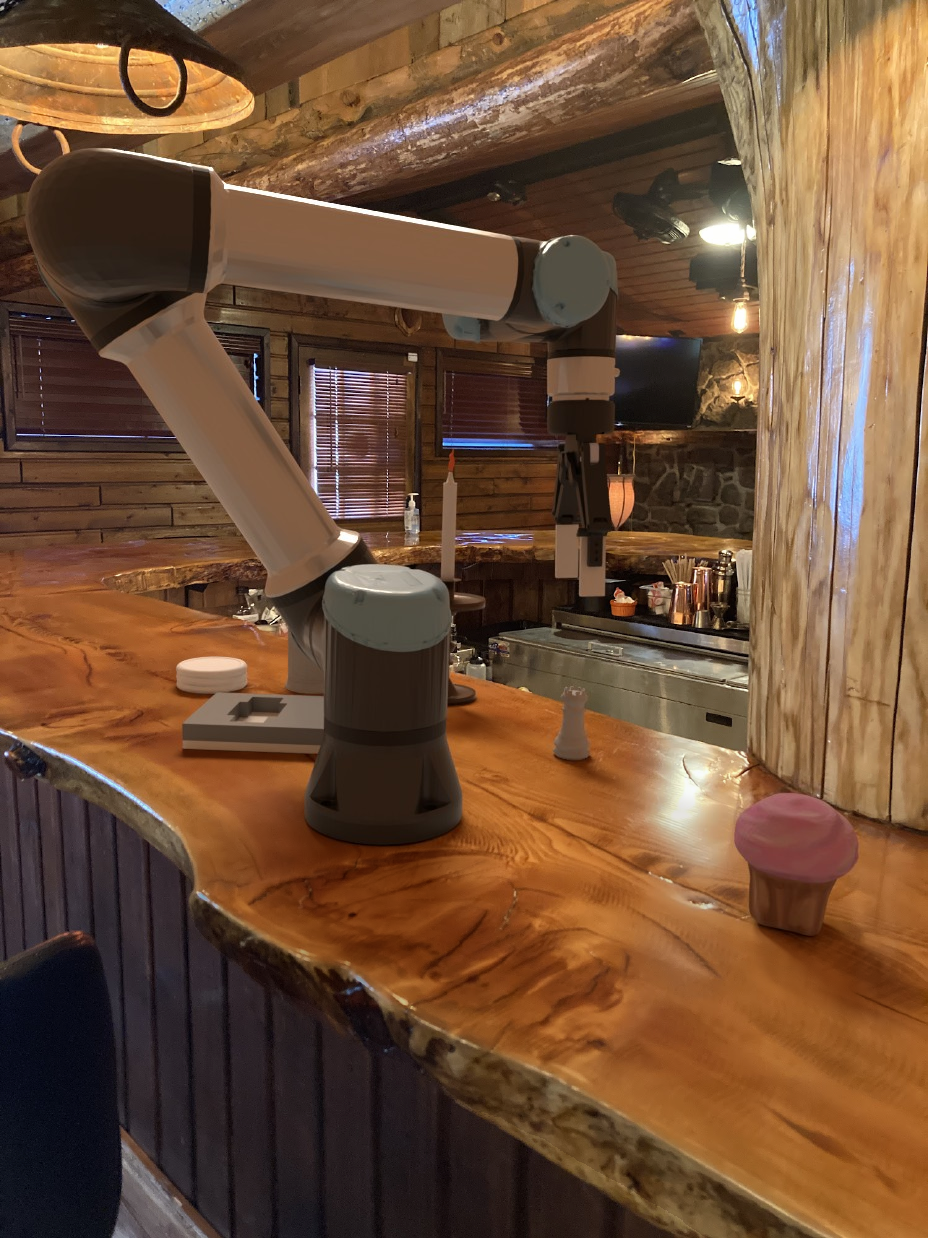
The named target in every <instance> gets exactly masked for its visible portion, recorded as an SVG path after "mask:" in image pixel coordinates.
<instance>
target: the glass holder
mask: <svg viewBox="0 0 928 1238" xmlns="http://www.w3.org/2000/svg"><path fill="white" fill-rule="evenodd" d="M284 689H286V690H288V691H290V692H294V693H299V694H308V695H309V694H311V695H313V694H314V695H315V694H318V695H319V694H324V672H323V671H322V670H321V669H320V668H319V667H318V666H317V665H316V664H315V663H314V662H312V661H311V660H310V659H309V658H307V657H306V656H305V655H304V654H303V653H302V652H301V650H300V649H299V648H298V647H297V645H296V644H295V642H294V641H293V639H292V637H291V632H290V631H289V629H288V628H287V679H286V682H285V685H284Z"/></svg>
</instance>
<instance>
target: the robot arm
mask: <svg viewBox="0 0 928 1238" xmlns="http://www.w3.org/2000/svg"><path fill="white" fill-rule="evenodd" d="M24 213H25V228H26V232H27V235H28V236H27V237H28V240H29V243H30V245H31V248H32V251H33V257H34V260H35V263H36V267H37V270H38V272H39V275H40V277H41V279H42V281H43V282H44V284H45V286H46V287H47V288H48V290H49V292H50V293H51V294H52V295H53V297H54V298H55V299H56V300H57V301H58V302H60V303H62V305H63V307H64V308H66V309H67V311H68V312H69V313H70V315H71V317H73V319H74V320H75V322H76V323H77V325H78V327H79V328H80V330H81V331H82V332H83V334H84V336H86V338H87V339H88V340H89V342H90V344H91V345H92V346H93V348H94V349H95V351H96V352H97V354H98V355H99V356H100V357H101V358H105V359H109V360H112V361H116V362H119V363H122V364H124V365H125V366H126V367H127V368H128V369H129V371H130V373H131V374H132V375H133V377H134V378H135V380H136V382H137V383H138V384H139V386H140V387H141V389H142V391H144V392H143V393H145V394H146V396H147V397H148V399H149V400H150V401H151V404H152V405H153V406H154V408H155V409H156V411H157V412H158V413H159V415H160V417H161V418H162V419H163V421H164V422H165V424H166V425H167V427H168V428H169V431H171V433H172V434H173V436H174V437H175V438H176V440H177V441H178V442H179V444H180V445H181V447H182V449H183V450H184V452H185V453H186V454H187V456H188V457H189V459H190V461H191V462H192V463H193V465H194V467H196V469H197V471H198V472H199V473H200V475H201V476H202V478H203V479H204V481H205V482H206V483H207V484H206V485H208V486H209V488H210V489H211V491H212V492H213V494H214V495H215V497H216V498H217V500H218V501H219V503H220V504H221V506H222V507H223V508H224V510H225V511H226V513H227V514H228V516H229V517H230V519H231V520H232V521H233V523H234V524H235V526H236V528H237V529H238V530H239V532H240V533H241V534H242V536H243V538H244V539H245V540H246V542H247V543H248V545H249V547H250V548H251V549H252V551H253V552H254V554H255V555H256V557H257V558H258V559H259V561H260V563H261V564H262V565H263V567H264V569H266V572H267V577H266V582H265V587H264V594H265V596H266V598H268V600H269V602H270V604H272V606H273V607H274V610H276V612H277V613H278V615H279V616H280V618H281V619H282V621H283V622H284V623H285V625H286V626H287V630H288V629H289V631H290V632H291V637H292V639H293V641H294V642H295V644H296V645H297V647H298V648H299V649H300V650H301V652H302V653H303V654H304V655H305V656H306V657H307V658H309V659H310V660H311V661H312V662H314V663H315V664H316V665H317V666H318V667H319V668H320V669H321V670H322V671H323V672H324V693H323V696H324V736H323V740H322V743H321V746H320V749H319V752H318V754H317V755H316V758H315V761H314V763H313V767H312V770H311V773H310V777H309V778H308V782H307V784H306V787H305V793H304V819H305V821H306V823H307V824H308V825H309V826H310V827H311V828H312V829H314V830H315V831H317V832H318V833H320V834H323V835H324V836H327V837H330V838H332V839H336V840H340V841H344V842H349V843H357V844H363V845H400V844H401V845H402V844H409V843H416V842H422V841H426V840H430V839H433V838H436V837H439V836H441V835H444V834H446V833H447V832H450V831H451V830H453V828H455V827H457V825H459V823H460V822H461V819H462V818H463V816H462V815H463V801H464V800H463V797H464V796H463V789H462V786H461V784H460V780H459V776H458V773H457V770H456V766H455V763H454V759H453V757H452V753H451V750H450V746H449V743H448V740H447V717H448V716H447V715H448V706H447V698H448V670H449V643H450V641H451V635H450V628H452V622H453V616H452V615H451V610H450V600H449V592H448V589H447V587H446V585H445V584H444V583H443V582H442V581H441V580H440V579H439V578H440V577H438V576H436V575H434V574H432V573H430V572H427V571H425V570H422V569H411V567H409V566H404V565H396V564H395V565H394V564H379V562H378V561H377V559H376V558H375V556H374V555H373V552H372V551H371V550H370V548H369V547H368V545H367V544H366V542H365V541H364V539H363V538H362V536H361V535H360V533H359V532H358V531H355V530H350V529H345V528H341V527H340V526H338V525H337V523H336V522H335V521H334V519H333V517H332V515H330V513H329V511H328V509H327V508H326V506H325V505H324V503H323V501H322V500H321V499H320V497H319V496H318V494H317V492H316V491H315V489H314V488H313V486H312V484H311V483H310V481H309V480H308V478H307V477H306V475H305V474H304V472H303V470H302V469H301V467H300V466H299V464H298V463H297V461H296V459H295V458H294V456H293V454H292V453H291V451H290V450H289V448H288V447H287V445H286V444H285V442H284V441H283V439H282V437H281V436H280V435H279V433H278V431H277V430H276V428H275V427H274V425H273V423H272V422H271V420H270V419H269V417H268V416H267V414H266V413H265V411H264V409H263V408H262V406H261V404H260V403H259V402H258V400H257V399H256V397H255V396H254V394H253V392H252V391H251V389H250V388H249V386H248V384H247V383H246V381H245V380H244V378H243V376H242V375H241V374H240V372H239V370H238V369H237V367H236V365H235V364H234V363H233V361H232V359H231V358H230V356H229V354H228V353H227V351H226V350H225V349H224V347H223V345H222V343H221V342H220V340H219V339H218V338H217V336H216V334H215V333H214V332H213V330H212V328H211V326H210V324H209V323H208V322H207V320H206V319H205V312H204V311H205V307H206V306H205V305H206V300H207V297H208V296H207V295H208V293H209V292H210V291H211V290H213V289H214V288H215V287H217V285H221V284H223V285H230V286H231V285H232V286H241V287H247V288H254V289H262V290H267V291H276V292H282V293H283V292H284V293H290V294H291V293H292V294H298V295H306V296H311V297H312V296H314V297H320V298H327V299H336V300H342V301H349V302H357V303H365V304H372V305H380V306H385V307H393V308H401V309H409V310H416V311H421V312H422V311H424V312H430V313H438V314H442V315H441V316H442V321H443V325H444V328H445V330H446V332H447V334H449V336H450V337H451V338H453V339H455V340H457V341H469V342H475V343H476V344H480V343H481V342H487V343H488V342H489V343H490V342H491V343H494V342H495V343H496V342H497V343H499V342H500V343H506V342H507V343H536V344H544V343H547V344H546V345H547V361H546V362H547V364H546V366H547V367H546V368H547V369H546V370H547V372H546V373H547V375H546V376H547V377H546V379H547V380H546V381H547V382H546V385H547V386H546V391H547V392H546V394H547V396H548V397H552V400H551V401H549V403H548V404H547V412H546V413H547V418H546V419H547V421H546V423H547V424H546V425H547V428H546V429H547V433H548V435H551V436H559V435H560V436H565V440H564V442H558V445H557V448H556V450H557V463H556V472H555V473H556V474H555V480H554V482H555V484H554V493H553V501H552V509H551V515H552V518H554V521H555V543H554V544H555V555H554V556H555V559H554V561H555V563H554V564H555V565H554V567H555V568H554V569H555V570H554V571H555V572H554V577H555V578H556V579H569V578H571V579H572V578H574V579H575V578H576V579H577V578H578V580H579V581H578V584H579V585H578V588H579V589H578V595H579V597H605V596H606V556H607V555H606V553H607V551H606V549H607V536H608V533H611V532H612V530H613V521H612V514H611V513H612V511H611V501H610V492H609V491H610V490H609V482H608V472H607V471H608V470H607V459H606V458H607V455H606V454H607V453H606V451H607V446H606V443H605V442H597V441H598V440H597V436H598V435H611V434H612V433H613V432H614V431H615V417H616V416H615V414H616V412H615V411H616V406H615V405H616V404H615V403H614V401H613V400H610V397H611V396H613V395H614V394H615V389H616V387H615V386H616V385H615V384H616V382H615V381H616V379H615V378H618V377H619V376H620V374H621V373H620V372H621V370H620V369H619V368H616V367H615V366H616V350H617V347H616V346H617V320H618V319H617V317H618V316H617V314H618V300H619V290H618V289H619V288H618V271H617V262H616V259H615V257H614V256H613V255H612V254H611V253H609V252H607V251H605V250H604V251H603V250H602V249H601V248H600V247H599V246H598V245H597V244H596V243H595V242H594V241H592V240H591V239H589V238H587V237H585V236H582V235H576V234H575V235H574V234H570V235H565V236H564V235H561V236H557V237H553V238H551V239H549V240H547V241H544V240H537V239H531V238H528V237H521V236H512V235H506V234H503V233H495V232H490V231H485V230H479V229H474V228H470V227H469V228H468V227H463V226H458V225H452V224H446V223H442V222H441V223H440V222H437V221H429V220H425V219H418V218H413V217H409V216H408V217H407V216H403V215H397V214H392V213H386V212H381V211H374V210H370V209H364V208H358V207H353V206H348V205H341V204H336V203H332V202H331V203H330V202H325V201H319V200H315V199H309V198H303V197H298V196H293V195H287V194H281V193H277V192H276V193H275V192H271V191H264V190H259V189H253V188H249V187H243V186H237V185H232V184H227V183H226V182H224V181H223V180H222V178H220V176H219V175H218V174H217V172H216V171H215V169H214V168H213V167H209V166H206V165H199V164H194V163H188V162H183V161H178V160H175V159H168V158H163V157H158V156H154V155H149V154H143V153H139V152H132V151H126V150H125V151H124V150H121V149H116V148H115V149H113V148H102V147H101V148H100V147H98V148H97V147H92V148H91V147H90V148H89V147H88V148H80V149H77V150H72V151H70V152H66V153H63V154H61V155H60V156H58V157H56V158H55V159H53V160H51V161H50V162H48V163H47V164H46V165H45V166H44V167H43V168H42V169H41V170H40V172H39V173H38V174H37V176H36V178H35V179H34V180H33V182H32V183H31V187H30V189H29V192H28V194H27V198H26V204H25V212H24ZM578 513H579V514H578ZM579 524H581V527H579V526H580V525H579ZM449 671H450V670H449Z"/></svg>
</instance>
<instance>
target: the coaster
mask: <svg viewBox="0 0 928 1238" xmlns="http://www.w3.org/2000/svg"><path fill="white" fill-rule="evenodd" d="M247 669H248V664H247V663H246V662H245V661H244V660H243V659H239V658H236V657H228V656H202V657H194V658H189V659H185V660H183V661H180V662H179V663H177V665H176V667H175V671H176V676H175V678H176V680H177V681H176V687H177V688H178V689H179V690H180V691H183V692H187V693H193V694H203V695H205V694H211V695H212V694H214V695H215V694H216V693H217V692H221V693H232V692H236V691H239V690H241V689H243V688H245V687H246V686H247V685H248V679H247V677H248V672H247Z"/></svg>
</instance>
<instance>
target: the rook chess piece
mask: <svg viewBox="0 0 928 1238" xmlns="http://www.w3.org/2000/svg"><path fill="white" fill-rule="evenodd" d="M560 699H562V701H563V706H562V708H561V710H562V712H563V715H562V720H561V727H560V730H559V732H558V733H557V736H556V737H555V738H554V741H553V745H554V748H553V749H552V752H553V753H554V756H556V757H557V758H559V759H562V760H565V759H566V761H583V760H586V759H588V757H589V756H590V755H591V751H590V749H589V748H590V747H591V741H590V740H589V739H588V738H587V737H588V734H587V733H586V730H585V729H586V728H585V717H584V716H585V713H586V711H587V710H586V708H585V705H586V704H585V703H586V702H587V701H588V700H589V696H588V694H587V690H586V688H583V687H580V686H577V689H576V690H575V686H569V687H567V686H565V687H564V688H563V693H562V694H561V695H560ZM585 758H586V759H585ZM582 759H583V760H582Z"/></svg>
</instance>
